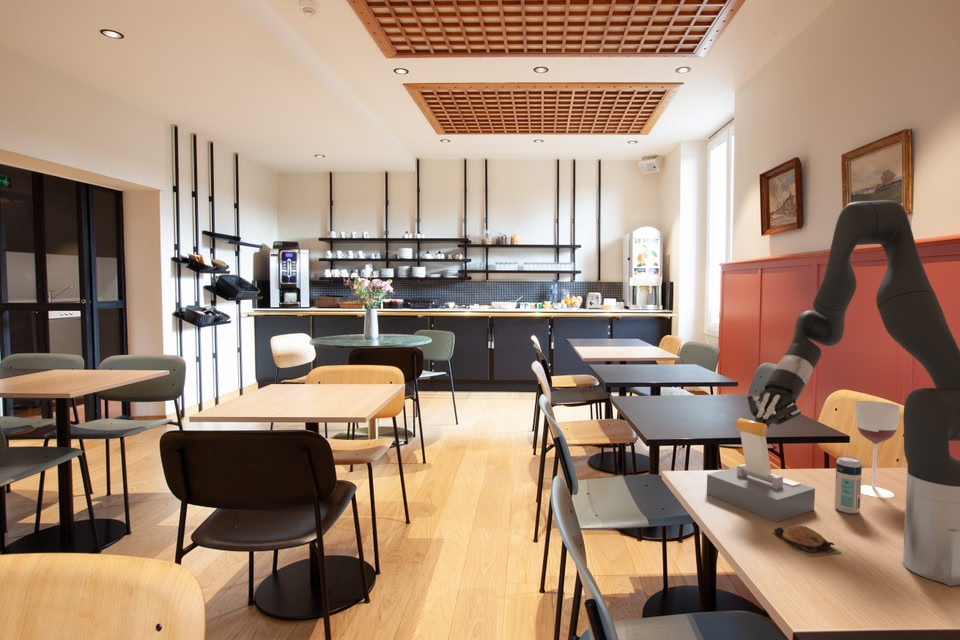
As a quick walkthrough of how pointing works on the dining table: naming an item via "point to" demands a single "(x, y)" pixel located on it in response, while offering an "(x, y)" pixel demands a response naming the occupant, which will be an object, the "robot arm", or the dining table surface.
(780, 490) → the block
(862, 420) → the wineglass
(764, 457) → the breaker lever
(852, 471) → the beer can
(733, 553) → the dining table surface
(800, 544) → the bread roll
